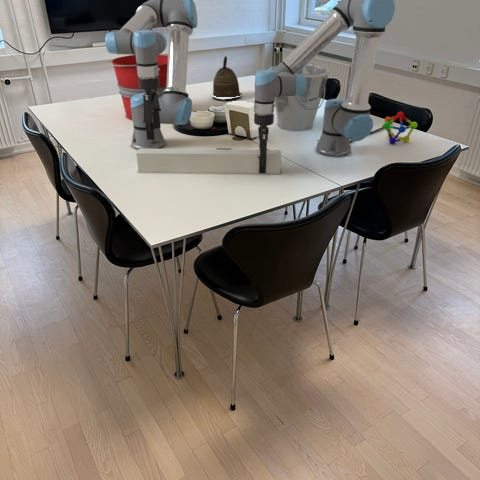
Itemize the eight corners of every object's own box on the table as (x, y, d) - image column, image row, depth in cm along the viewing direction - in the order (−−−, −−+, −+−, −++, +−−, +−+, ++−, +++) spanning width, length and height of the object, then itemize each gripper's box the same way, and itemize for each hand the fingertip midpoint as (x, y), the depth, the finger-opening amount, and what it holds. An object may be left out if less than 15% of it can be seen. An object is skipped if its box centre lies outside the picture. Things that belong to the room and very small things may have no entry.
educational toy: (377, 146, 209) (379, 114, 202) (384, 138, 219) (386, 107, 211) (411, 149, 202) (415, 116, 195) (417, 141, 212) (420, 109, 204)
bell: (227, 105, 294) (202, 96, 282) (238, 66, 289) (213, 55, 277) (243, 108, 280) (217, 98, 268) (255, 66, 275) (229, 55, 263)
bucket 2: (296, 138, 215) (301, 78, 201) (255, 124, 234) (256, 68, 219) (335, 125, 232) (342, 70, 217) (294, 113, 251) (297, 61, 236)
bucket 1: (125, 105, 263) (118, 51, 247) (184, 106, 262) (180, 52, 246) (109, 123, 234) (99, 63, 218) (175, 124, 233) (170, 64, 217)
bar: (138, 172, 180) (136, 153, 175) (141, 167, 184) (139, 148, 180) (280, 173, 179) (281, 154, 175) (279, 168, 184) (280, 149, 179)
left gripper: (152, 85, 152) (158, 144, 163) (164, 70, 173) (168, 123, 184) (130, 84, 152) (137, 144, 163) (145, 70, 173) (150, 123, 184)
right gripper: (275, 120, 161) (272, 179, 173) (272, 106, 177) (270, 161, 189) (254, 120, 161) (253, 178, 173) (254, 106, 177) (252, 161, 189)
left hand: (154, 133), depth 174 cm, fingers open, 13 cm apart
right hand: (262, 169), depth 181 cm, fingers closed on bar, 5 cm apart
